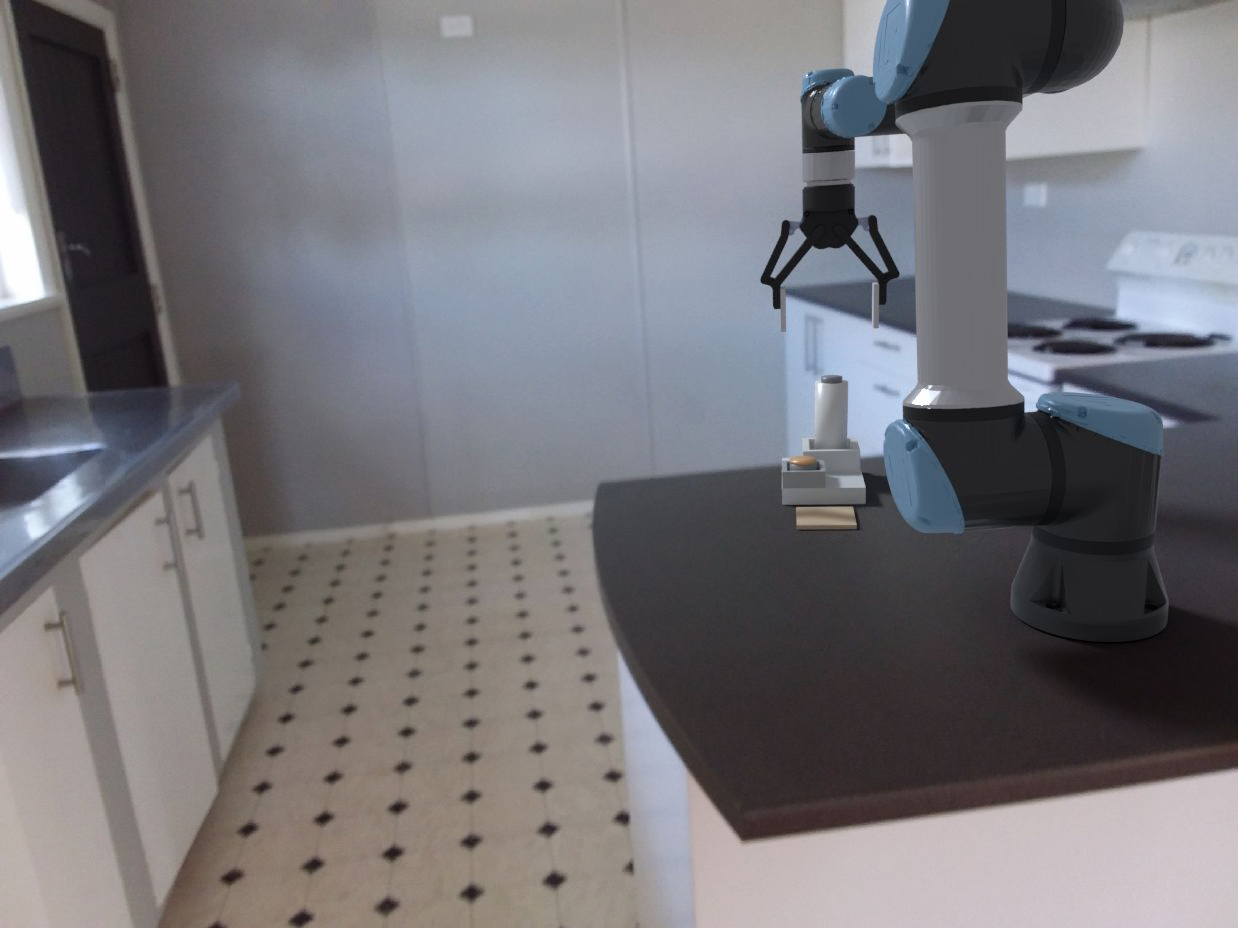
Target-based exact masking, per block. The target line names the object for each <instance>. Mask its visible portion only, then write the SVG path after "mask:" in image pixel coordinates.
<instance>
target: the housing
mask: <svg viewBox="0 0 1238 928" xmlns="http://www.w3.org/2000/svg"><path fill="white" fill-rule="evenodd" d="M801 444H802V445H801V446H802V449H801V451H802V452H801V453H802V454H801V456H812V457H815V458H817V470H799V471H790V458H791V457H782V458H781V504H782V506H787V505H790V506H793V505H794V506H795V505H796V506H797V505H800V506H801V505H803V506H804V505H805V506H806V505H811V506H812V505H866V504H867V503H866V502H867V497H866V495H867V491H866V489H867V488H866V487H867V486H866V484H865V481H864V476H863V472H862V467H861V448H860V445H859V442H858V437H857V436H847V449H821V450H814V437H802V438H801Z"/></svg>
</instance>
